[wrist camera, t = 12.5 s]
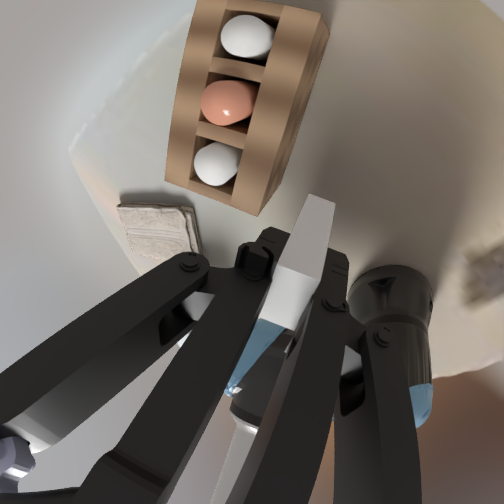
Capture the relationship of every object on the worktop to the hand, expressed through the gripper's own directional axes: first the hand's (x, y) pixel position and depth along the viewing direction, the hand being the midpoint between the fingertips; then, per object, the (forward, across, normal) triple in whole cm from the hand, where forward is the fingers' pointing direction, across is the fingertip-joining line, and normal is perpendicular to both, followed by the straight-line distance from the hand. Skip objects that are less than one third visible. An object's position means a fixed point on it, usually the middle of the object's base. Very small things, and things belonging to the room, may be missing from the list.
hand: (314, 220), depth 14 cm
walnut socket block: (+21, +11, -4) cm, 24 cm away
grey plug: (+20, +11, -11) cm, 25 cm away
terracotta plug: (+19, +11, -4) cm, 22 cm away
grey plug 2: (+20, +11, +3) cm, 24 cm away
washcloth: (+23, +25, +24) cm, 42 cm away
